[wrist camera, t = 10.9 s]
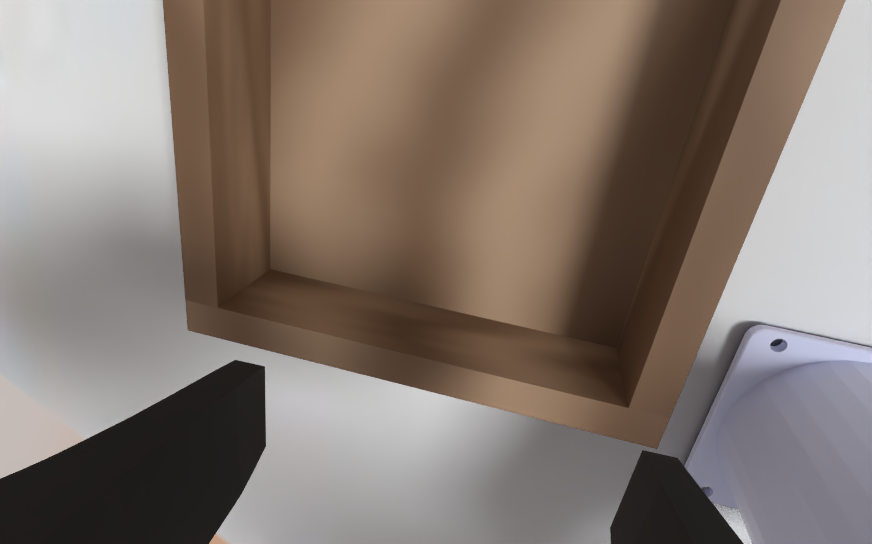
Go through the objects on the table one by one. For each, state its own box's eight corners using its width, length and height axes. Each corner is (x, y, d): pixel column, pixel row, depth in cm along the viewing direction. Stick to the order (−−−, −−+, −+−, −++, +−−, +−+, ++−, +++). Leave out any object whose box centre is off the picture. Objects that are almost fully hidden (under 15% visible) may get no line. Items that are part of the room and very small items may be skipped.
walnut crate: (790, -55, 14) (888, -102, 10) (636, 368, 20) (656, 448, 16) (252, -116, 16) (149, -175, 12) (256, 279, 22) (187, 330, 18)
